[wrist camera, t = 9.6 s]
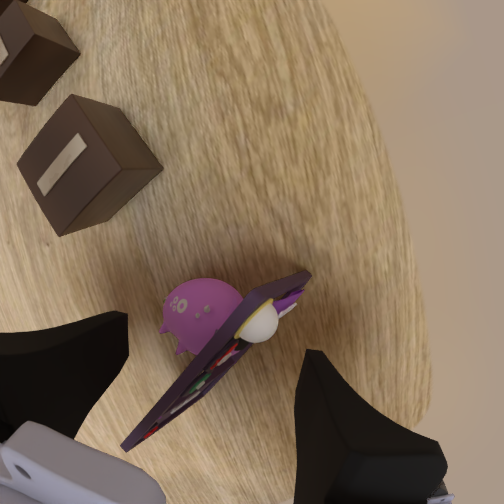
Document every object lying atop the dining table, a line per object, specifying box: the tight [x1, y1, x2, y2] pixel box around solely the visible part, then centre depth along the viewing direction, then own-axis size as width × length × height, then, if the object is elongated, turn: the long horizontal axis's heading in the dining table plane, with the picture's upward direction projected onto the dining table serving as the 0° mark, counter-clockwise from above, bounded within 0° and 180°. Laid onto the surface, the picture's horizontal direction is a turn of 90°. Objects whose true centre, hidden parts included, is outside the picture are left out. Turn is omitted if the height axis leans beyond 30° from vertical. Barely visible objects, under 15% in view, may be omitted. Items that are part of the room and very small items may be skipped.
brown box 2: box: [17, 94, 163, 237], centre depth 12 cm, size 4×4×4 cm
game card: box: [120, 270, 312, 452], centre depth 13 cm, size 7×5×9 cm
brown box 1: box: [0, 0, 80, 106], centre depth 11 cm, size 4×4×4 cm
